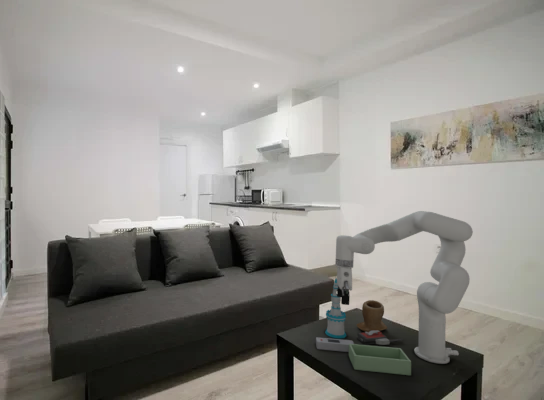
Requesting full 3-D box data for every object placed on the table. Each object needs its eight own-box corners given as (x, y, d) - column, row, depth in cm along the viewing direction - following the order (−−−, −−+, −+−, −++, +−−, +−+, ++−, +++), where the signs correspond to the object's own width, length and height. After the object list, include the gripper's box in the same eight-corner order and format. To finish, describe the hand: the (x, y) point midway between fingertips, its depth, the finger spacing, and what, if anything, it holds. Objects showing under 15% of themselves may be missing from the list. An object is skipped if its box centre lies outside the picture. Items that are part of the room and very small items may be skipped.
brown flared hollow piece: (371, 337, 145) (371, 307, 145) (353, 327, 156) (353, 299, 156) (394, 333, 150) (394, 303, 149) (375, 323, 161) (376, 296, 161)
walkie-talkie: (366, 347, 135) (404, 343, 139) (366, 338, 135) (404, 334, 139) (354, 338, 144) (390, 335, 147) (354, 329, 144) (390, 326, 147)
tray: (400, 361, 124) (400, 348, 124) (411, 375, 114) (411, 361, 114) (348, 356, 128) (348, 343, 128) (354, 369, 118) (354, 355, 118)
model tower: (337, 328, 155) (337, 271, 155) (350, 337, 145) (351, 276, 145) (321, 330, 152) (321, 272, 152) (333, 339, 143) (334, 277, 142)
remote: (352, 347, 135) (352, 340, 135) (354, 352, 131) (354, 345, 131) (315, 344, 138) (315, 336, 138) (317, 349, 134) (317, 341, 134)
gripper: (358, 268, 125) (356, 308, 125) (348, 259, 142) (347, 295, 142) (339, 266, 126) (337, 306, 126) (332, 258, 143) (331, 293, 143)
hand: (342, 300), depth 134 cm, fingers open, 9 cm apart
